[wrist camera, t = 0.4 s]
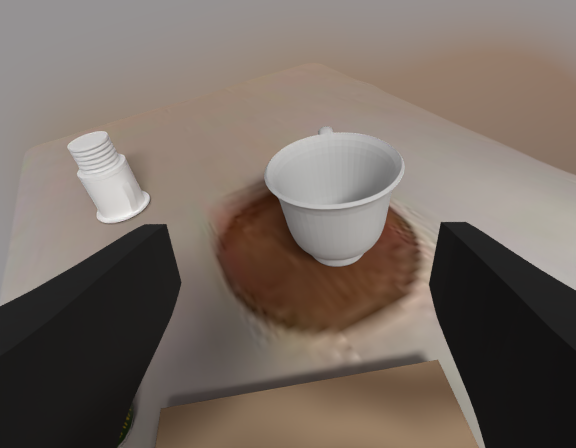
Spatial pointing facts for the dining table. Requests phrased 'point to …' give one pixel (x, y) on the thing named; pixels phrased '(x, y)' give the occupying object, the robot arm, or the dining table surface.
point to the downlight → (107, 178)
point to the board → (328, 415)
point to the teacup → (335, 192)
